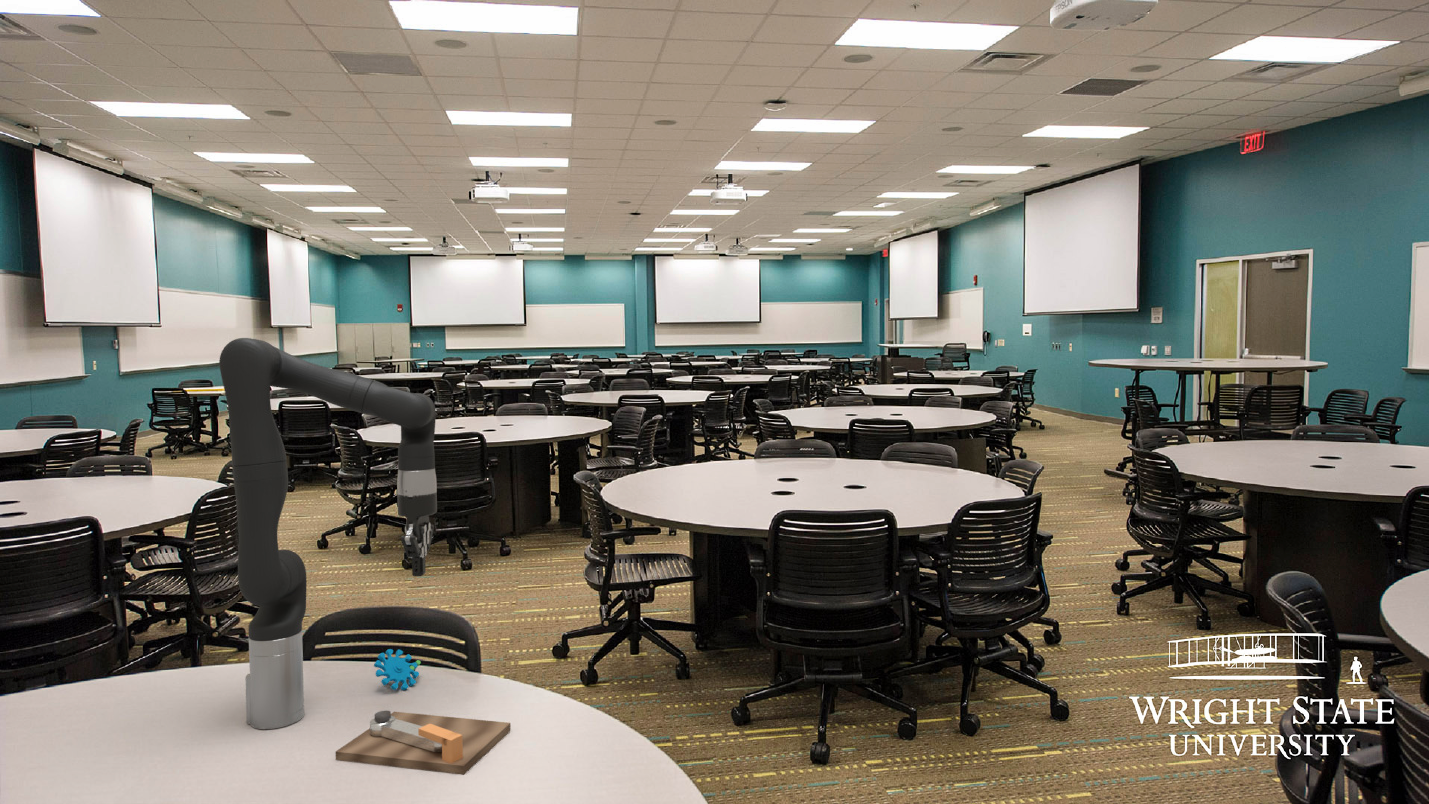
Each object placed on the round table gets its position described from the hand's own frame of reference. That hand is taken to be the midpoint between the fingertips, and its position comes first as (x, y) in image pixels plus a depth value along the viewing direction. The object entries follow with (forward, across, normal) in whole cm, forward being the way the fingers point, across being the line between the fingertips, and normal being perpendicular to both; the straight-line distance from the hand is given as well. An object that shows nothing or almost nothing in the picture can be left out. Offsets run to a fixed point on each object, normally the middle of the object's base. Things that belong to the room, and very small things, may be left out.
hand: (418, 575), depth 163 cm
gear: (+27, -11, -9) cm, 31 cm away
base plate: (+27, +18, +7) cm, 33 cm away
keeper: (+26, +25, +12) cm, 37 cm away
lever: (+25, +19, +4) cm, 32 cm away
